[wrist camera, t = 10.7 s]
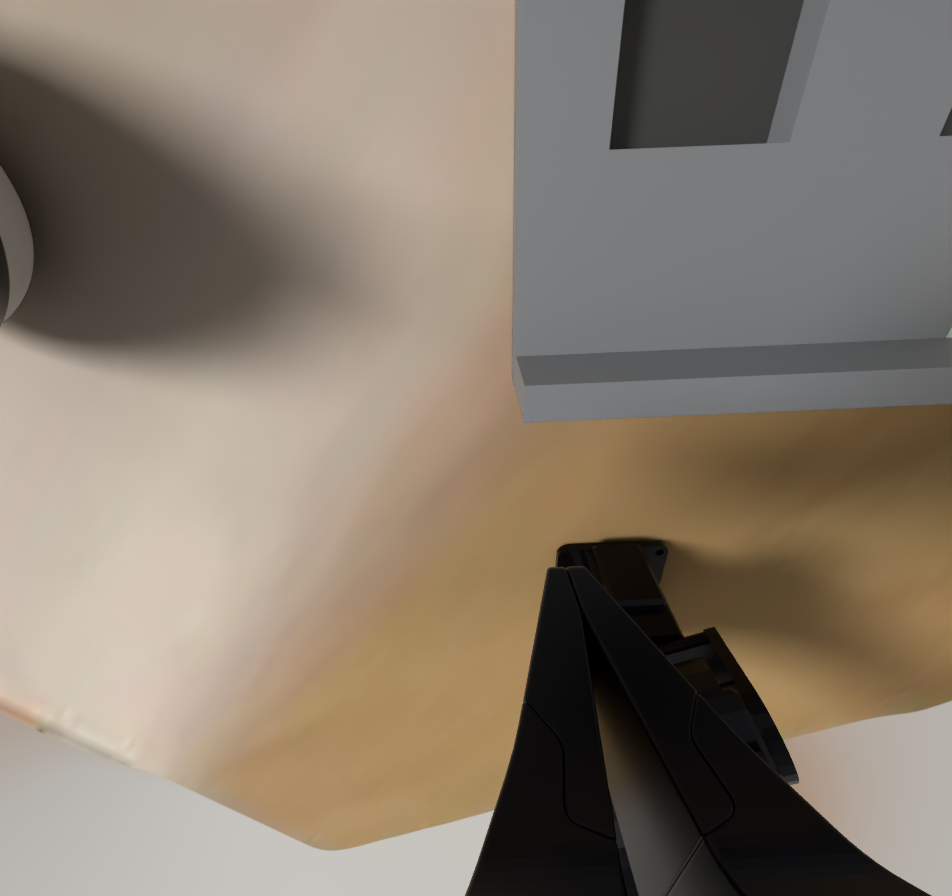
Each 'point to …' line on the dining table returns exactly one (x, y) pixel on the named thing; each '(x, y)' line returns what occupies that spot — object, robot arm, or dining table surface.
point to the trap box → (731, 206)
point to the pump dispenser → (13, 249)
